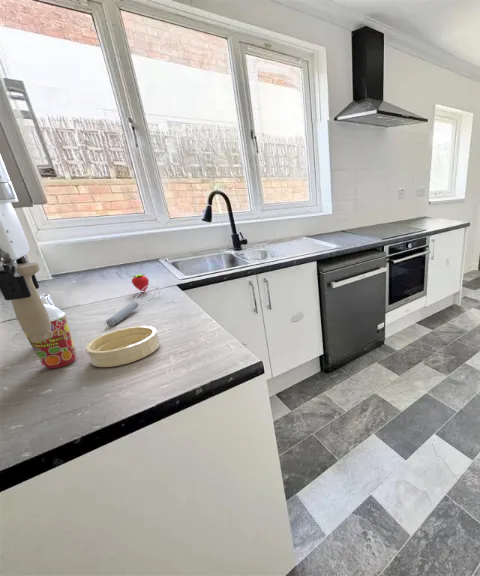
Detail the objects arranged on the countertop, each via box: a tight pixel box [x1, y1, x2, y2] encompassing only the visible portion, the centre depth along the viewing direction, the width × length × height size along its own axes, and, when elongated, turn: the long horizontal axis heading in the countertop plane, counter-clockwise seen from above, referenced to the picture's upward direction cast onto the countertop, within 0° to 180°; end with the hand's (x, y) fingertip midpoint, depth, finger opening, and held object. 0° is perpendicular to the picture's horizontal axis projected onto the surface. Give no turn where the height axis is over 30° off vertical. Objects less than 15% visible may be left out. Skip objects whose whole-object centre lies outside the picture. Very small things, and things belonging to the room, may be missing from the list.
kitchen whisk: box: [104, 283, 162, 328], centre depth 119 cm, size 6×34×6 cm, turn 9°
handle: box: [8, 262, 53, 343], centre depth 59 cm, size 5×6×15 cm
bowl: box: [84, 325, 161, 368], centre depth 88 cm, size 16×16×5 cm
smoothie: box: [18, 304, 77, 369], centre depth 82 cm, size 8×8×20 cm
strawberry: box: [130, 272, 150, 292], centre depth 139 cm, size 6×8×10 cm
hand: (23, 293), depth 58 cm, fingers closed on handle, 5 cm apart
